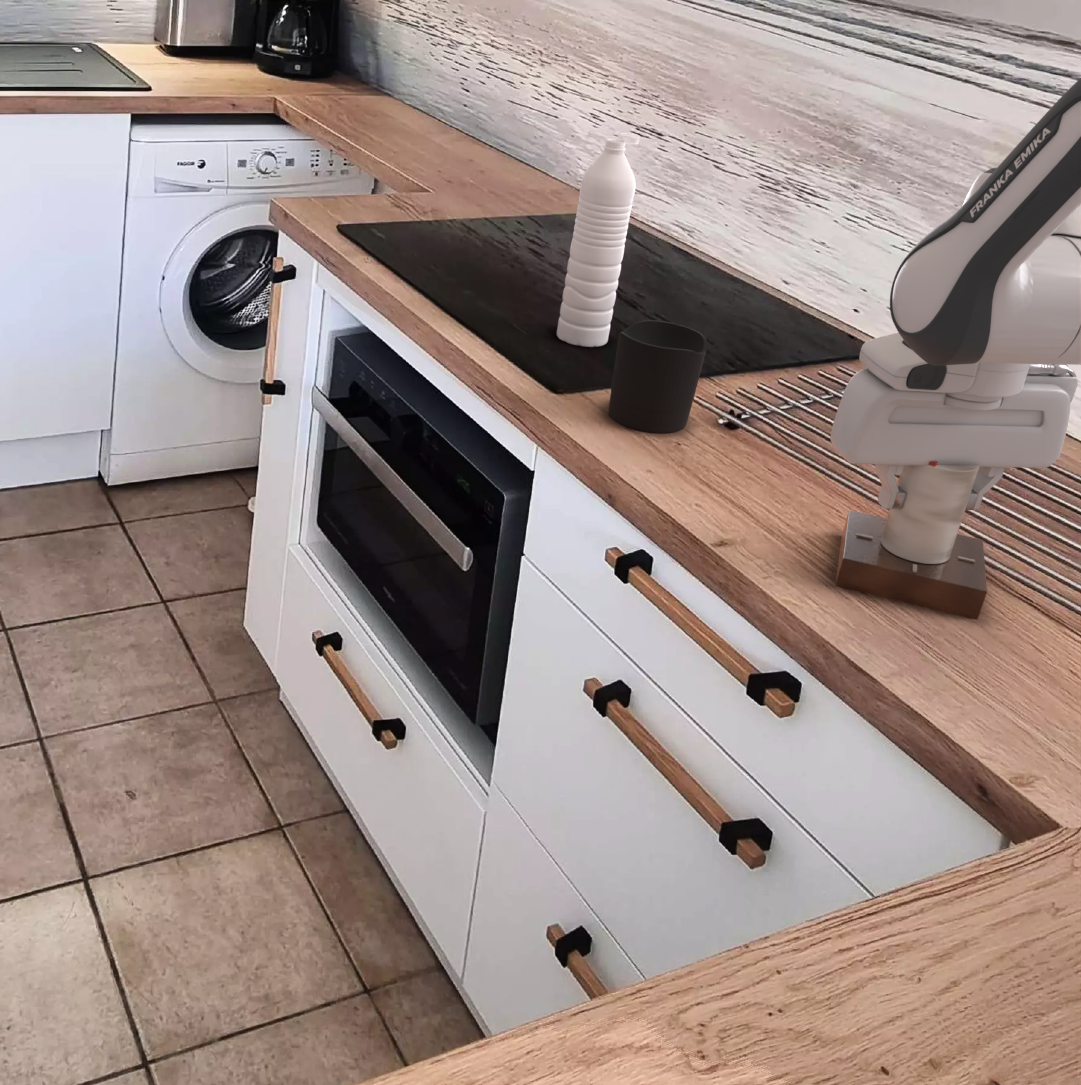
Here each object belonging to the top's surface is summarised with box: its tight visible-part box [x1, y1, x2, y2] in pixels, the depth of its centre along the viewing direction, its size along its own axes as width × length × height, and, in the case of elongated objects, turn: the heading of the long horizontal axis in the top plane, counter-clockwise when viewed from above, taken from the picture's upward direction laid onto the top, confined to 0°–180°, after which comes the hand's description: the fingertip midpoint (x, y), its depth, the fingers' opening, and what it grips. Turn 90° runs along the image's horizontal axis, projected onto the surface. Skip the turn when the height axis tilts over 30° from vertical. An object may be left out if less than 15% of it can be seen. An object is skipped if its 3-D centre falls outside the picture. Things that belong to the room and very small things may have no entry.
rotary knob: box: [881, 462, 979, 564], centre depth 125 cm, size 6×6×9 cm
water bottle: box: [556, 132, 641, 348], centre depth 175 cm, size 9×6×25 cm
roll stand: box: [834, 509, 988, 620], centre depth 128 cm, size 12×11×3 cm
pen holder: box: [608, 319, 708, 434], centre depth 155 cm, size 9×9×10 cm
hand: (926, 507), depth 126 cm, fingers closed on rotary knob, 6 cm apart
